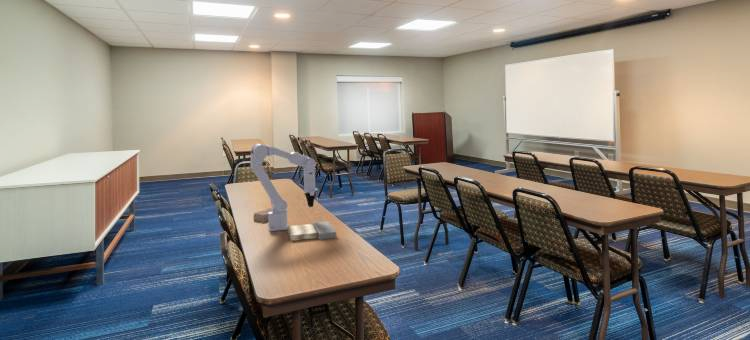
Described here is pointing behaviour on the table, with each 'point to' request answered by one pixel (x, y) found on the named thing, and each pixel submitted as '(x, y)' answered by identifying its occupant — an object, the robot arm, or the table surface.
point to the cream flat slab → (302, 232)
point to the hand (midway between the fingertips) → (310, 206)
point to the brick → (262, 215)
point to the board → (324, 230)
